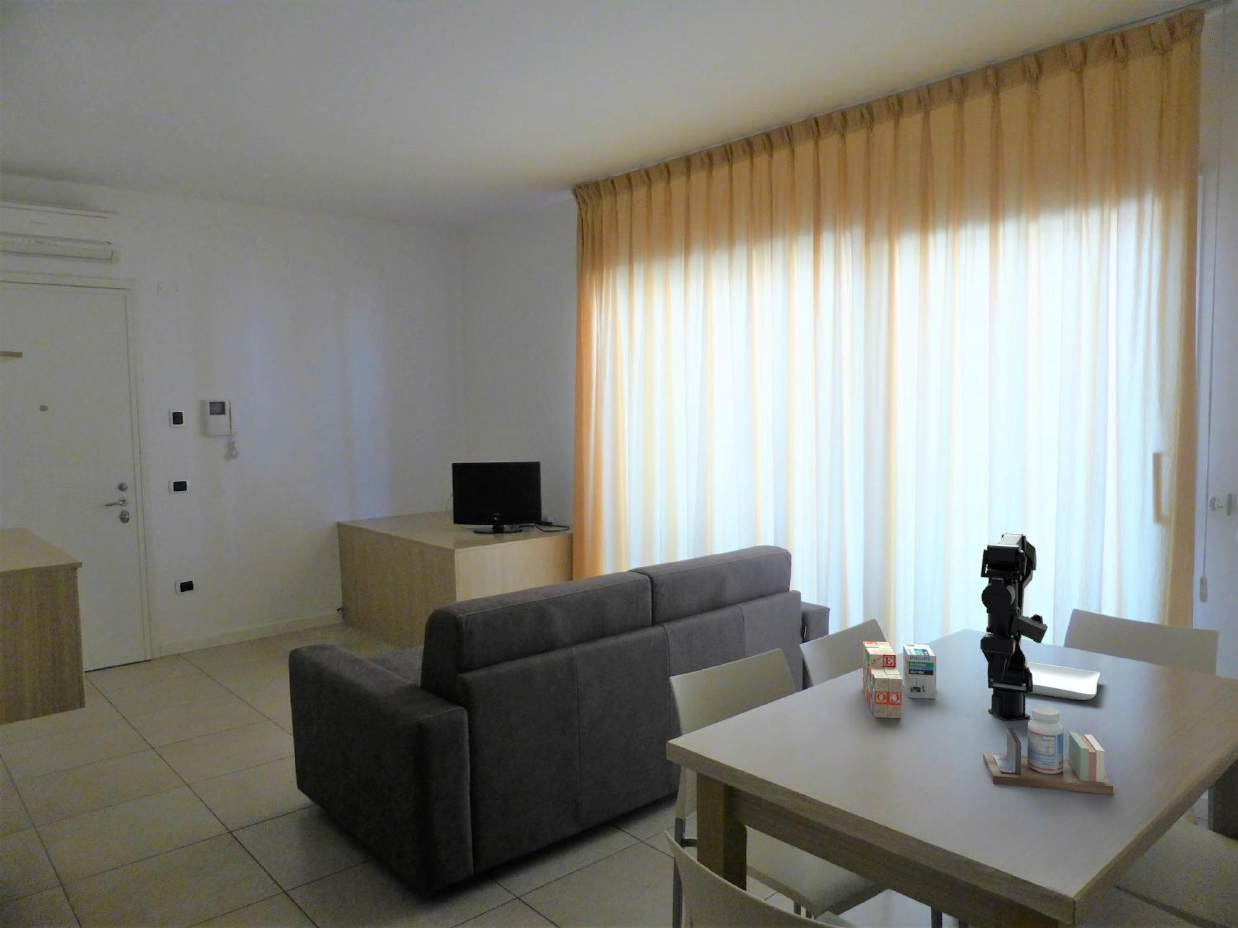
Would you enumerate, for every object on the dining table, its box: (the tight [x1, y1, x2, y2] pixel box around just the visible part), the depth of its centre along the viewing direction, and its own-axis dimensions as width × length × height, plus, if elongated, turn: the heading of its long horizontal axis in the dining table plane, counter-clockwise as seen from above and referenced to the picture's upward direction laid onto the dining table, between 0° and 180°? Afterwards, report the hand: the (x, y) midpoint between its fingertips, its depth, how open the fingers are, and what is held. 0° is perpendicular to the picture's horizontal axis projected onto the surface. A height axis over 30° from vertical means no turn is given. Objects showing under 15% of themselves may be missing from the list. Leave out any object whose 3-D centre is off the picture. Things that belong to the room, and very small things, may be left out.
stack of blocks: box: [862, 641, 904, 719], centre depth 201 cm, size 21×6×12 cm, turn 171°
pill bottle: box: [1026, 705, 1064, 774], centre depth 159 cm, size 6×6×11 cm
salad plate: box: [1023, 661, 1101, 701], centre depth 212 cm, size 21×21×3 cm
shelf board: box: [982, 752, 1114, 795], centre depth 159 cm, size 11×20×2 cm, turn 76°
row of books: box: [1068, 731, 1106, 782], centre depth 157 cm, size 8×4×6 cm, turn 166°
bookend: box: [993, 727, 1022, 775], centre depth 160 cm, size 8×4×6 cm, turn 166°
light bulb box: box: [902, 643, 937, 700], centre depth 209 cm, size 11×7×11 cm, turn 168°
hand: (1001, 675), depth 179 cm, fingers open, 9 cm apart
